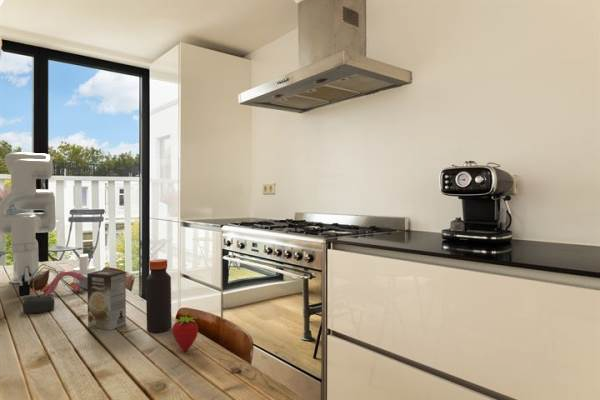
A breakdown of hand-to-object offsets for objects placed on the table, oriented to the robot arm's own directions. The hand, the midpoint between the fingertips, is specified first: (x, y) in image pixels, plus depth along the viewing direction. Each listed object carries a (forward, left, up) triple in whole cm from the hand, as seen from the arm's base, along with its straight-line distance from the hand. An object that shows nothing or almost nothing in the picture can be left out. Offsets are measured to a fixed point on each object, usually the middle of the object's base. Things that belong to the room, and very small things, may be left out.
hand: (24, 295), depth 146 cm
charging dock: (+1, +22, -1) cm, 22 cm away
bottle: (+72, +19, -1) cm, 74 cm away
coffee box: (+57, +10, -1) cm, 58 cm away
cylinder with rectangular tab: (-16, +26, -1) cm, 31 cm away
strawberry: (+92, +16, -1) cm, 93 cm away
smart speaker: (+23, 0, -2) cm, 23 cm away
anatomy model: (0, +11, -1) cm, 11 cm away
